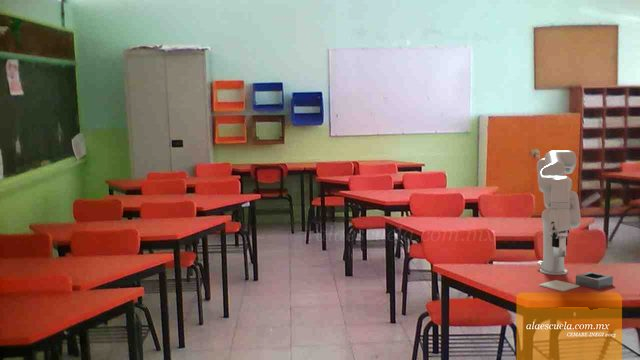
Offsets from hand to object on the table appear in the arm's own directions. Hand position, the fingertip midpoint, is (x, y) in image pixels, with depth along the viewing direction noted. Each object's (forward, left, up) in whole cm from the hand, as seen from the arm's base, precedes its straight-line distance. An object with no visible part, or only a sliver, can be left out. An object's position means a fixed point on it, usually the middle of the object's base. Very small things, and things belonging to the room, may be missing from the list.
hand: (559, 245), depth 265 cm
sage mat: (0, 0, -18) cm, 18 cm away
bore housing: (+8, +14, -18) cm, 24 cm away
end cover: (0, 0, -4) cm, 4 cm away
